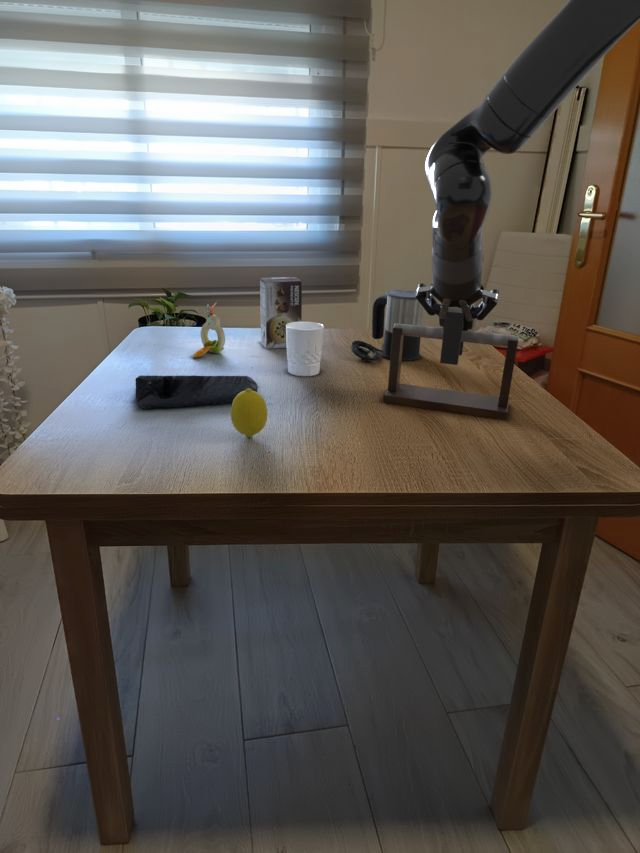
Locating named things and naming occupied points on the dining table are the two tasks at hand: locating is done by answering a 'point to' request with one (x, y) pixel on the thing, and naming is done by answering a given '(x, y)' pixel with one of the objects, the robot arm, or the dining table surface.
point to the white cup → (304, 347)
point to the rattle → (208, 345)
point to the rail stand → (449, 398)
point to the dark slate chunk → (189, 390)
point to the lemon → (249, 412)
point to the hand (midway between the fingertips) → (456, 326)
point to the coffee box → (279, 308)
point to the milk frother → (399, 311)
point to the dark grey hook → (452, 336)
